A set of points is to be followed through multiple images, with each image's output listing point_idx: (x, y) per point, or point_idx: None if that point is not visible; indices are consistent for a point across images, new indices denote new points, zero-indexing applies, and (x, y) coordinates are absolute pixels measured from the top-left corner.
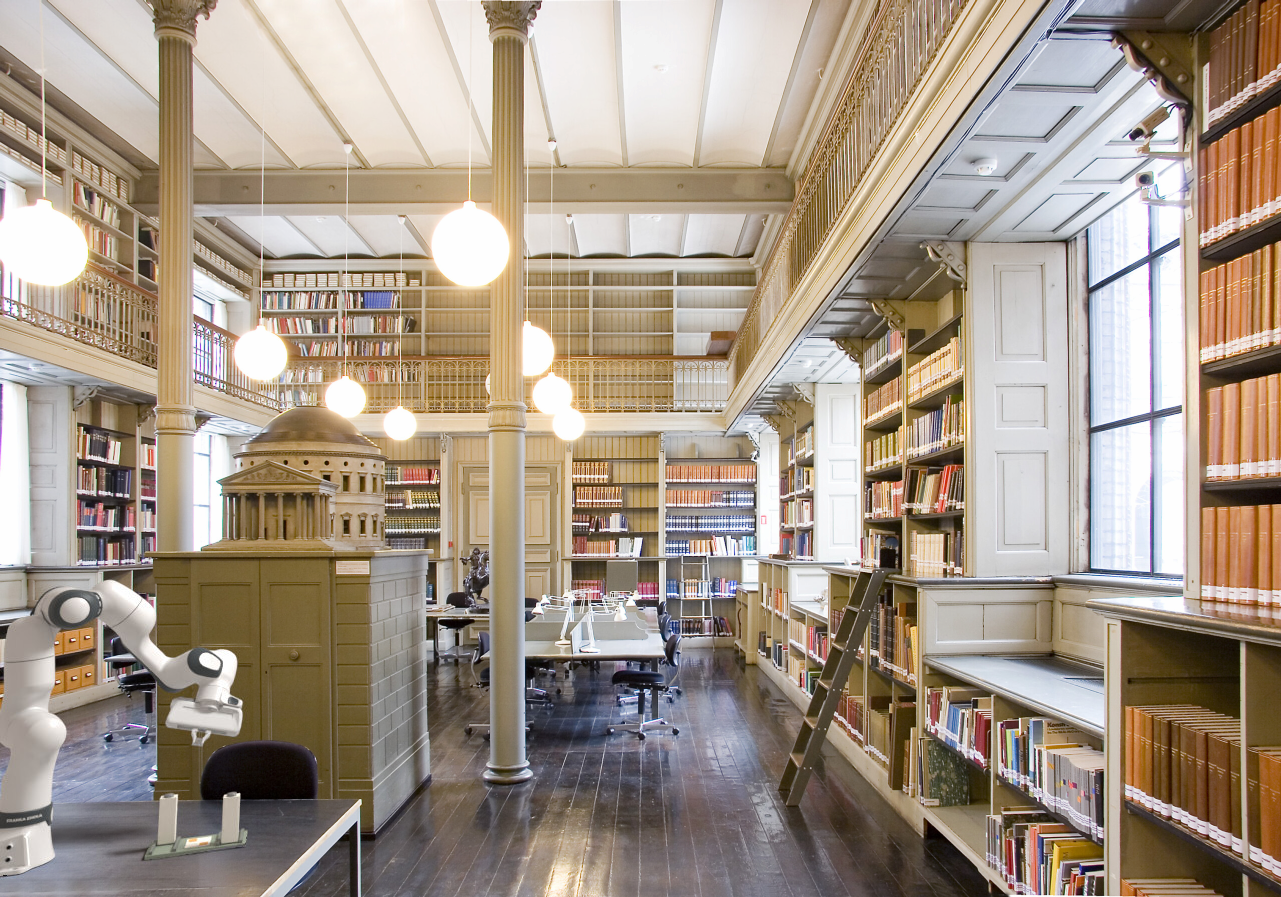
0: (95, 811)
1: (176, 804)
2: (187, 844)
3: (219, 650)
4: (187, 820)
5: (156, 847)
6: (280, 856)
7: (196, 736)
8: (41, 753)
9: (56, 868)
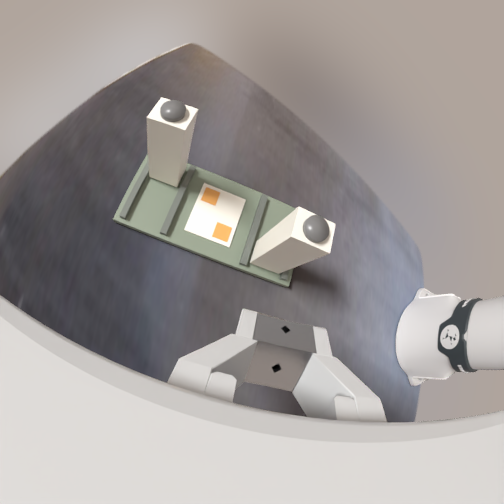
0: None
1: (286, 223)
2: (236, 214)
3: None
4: None
5: None
6: (133, 92)
7: (318, 358)
8: None
9: (394, 282)
